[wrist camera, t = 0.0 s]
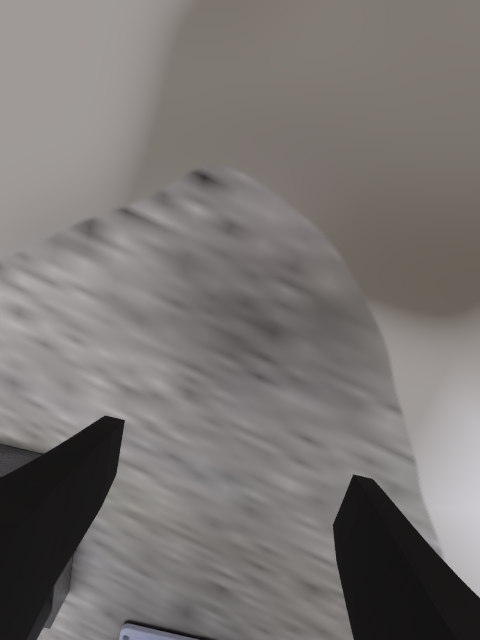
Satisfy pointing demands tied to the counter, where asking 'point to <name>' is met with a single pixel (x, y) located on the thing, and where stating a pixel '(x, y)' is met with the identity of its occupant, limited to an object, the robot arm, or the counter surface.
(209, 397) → the counter surface
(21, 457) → the grey flat block
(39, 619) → the post
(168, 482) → the counter surface
